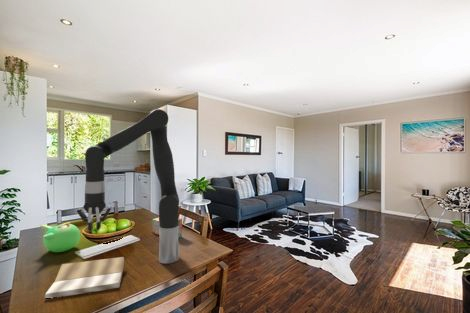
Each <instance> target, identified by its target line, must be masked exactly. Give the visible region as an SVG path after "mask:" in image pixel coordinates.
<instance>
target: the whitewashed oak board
mask: <svg viewBox="0 0 470 313" xmlns="http://www.w3.org/2000/svg"><path fill="white" fill-rule="evenodd" d="M122 276H123V272H120V273H113V274H106V275H99V276H92V277H85V278H78V279H71V280H64V281H57V282H55V281H54V282H52V285H51V286H50V287H49V288H48V289H47V291H46V293H44V299H45V298H51V299H54V298H53V297H57V298H62V296H63V297H68V296H75V295H81V294H86V293H93V292H99V291H100V292H101V291H106V290H112V289H117V288H118V289H119V288H120V285H121V281H122V278H123V277H122Z"/></svg>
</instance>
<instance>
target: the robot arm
mask: <svg viewBox="0 0 470 313" xmlns="http://www.w3.org/2000/svg"><path fill="white" fill-rule="evenodd" d="M168 122H169V115H168V113H167V112H166V111H165V110H163V109H153V110H152V111H151V112H150V113H149V114H147V115H146V116H145V117H144V118H142V119H140V120H139V121H138V122H135V123H133V125H130V126H128V127H126V128H124V129H122V130H120V131H119V132H117V133H115V134H113V135H111V136H109V137H107V138H106V139H105V140H103V141H101V142H99V143H97V144H96V145H93V146H90V147H88V148H87V149H86V151H85V154H84V155H85V156H84V158H85V184H84V204H83V207H81V208H78V209H77V210H76V213H77V215H79V217H80V218H81V220H82V221H83V222H84V223H87V224H88V226H87V227H88V228H87V229H88V230H89V231H90V232H93V231H94V221H93V218H94V215H95V216H96V223H95V224H96V228H95V229H96V231H100V229H101V227H102V221H105V220H106V218H107V216H108V215H109V213H110V211H111V210H112V207H111V206H108V205H107V204H106V200H105V199H106V198H105V197H106V196H105V195H106V184H105V169H104V168H105V159H106V158H107V157H109V156H110V155H112V154H113V153H116V152H117V151H120V150H122V149H123V148H125V147H127V146H129V145H130V144H132V143H134V142H135V141H137V140H138V139H139V138H141V137H142V136H145V135H146V134H148V133H150V136H151V142H152V143H151V144H152V157H153V163H154V164H153V166H154V169H155V173H156V176H157V179H158V181H159V186H160V191H161V192H160V193H161V194H160V195H161V196H160V197H161V198H160V199H159V202H158V203H159V205H158V218H159V223H160V228H159V235H158V237H159V238H158V239H159V240H158V241H159V242H158V262H159V263H161V264H165V265H168V264H173V263H175V262H179V255H180V254H179V251H180V250H179V247H180V243H179V238H178V227H179V220H178V217H179V209H180V208H179V205H180V198H179V195H178V192H177V187H176V181H175V164H174V163H175V162H174V158H173V157H174V156H173V152H172V150H171V146H170V144H169V142H168V141H169V140H168V138H167V125H168ZM103 210H104V214H103V216H102V212H103ZM85 212H86V213H87V214H88V216H87V215H86V214H85Z"/></svg>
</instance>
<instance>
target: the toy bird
mask: <svg viewBox="0 0 470 313" xmlns="http://www.w3.org/2000/svg"><path fill="white" fill-rule="evenodd" d="M39 227H40V228H41V229H42V230H43V231H44V232H45V234H44V235H43V236H42V238H43V239H42V241H43V245H44V247H45V249H47V250H48V251H49V252H51V253H63V252H67V251H69V250H71V249H73V248H74V247H76V246H77V245H78V243H79V242H80V240H81V232H80V229H79V228H78V226H76V225H74V224H71V222H65V223H60V224H59V223H58V224H57V225H54V226H50V225H45V224H40V226H39Z"/></svg>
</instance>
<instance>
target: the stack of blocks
mask: <svg viewBox="0 0 470 313" xmlns="http://www.w3.org/2000/svg"><path fill="white" fill-rule="evenodd" d="M178 220H179V227H178V239H180V238H182V236H183V233H182V232H183V218H182V217H179V216H178ZM151 222H152V223H151V224H152V226H151V227H152V228H151V229H152V231H151V232H152V234H155V235H158V236H159V228H160V223H159V217H155V218H152V220H151ZM179 237H180V238H179Z"/></svg>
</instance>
